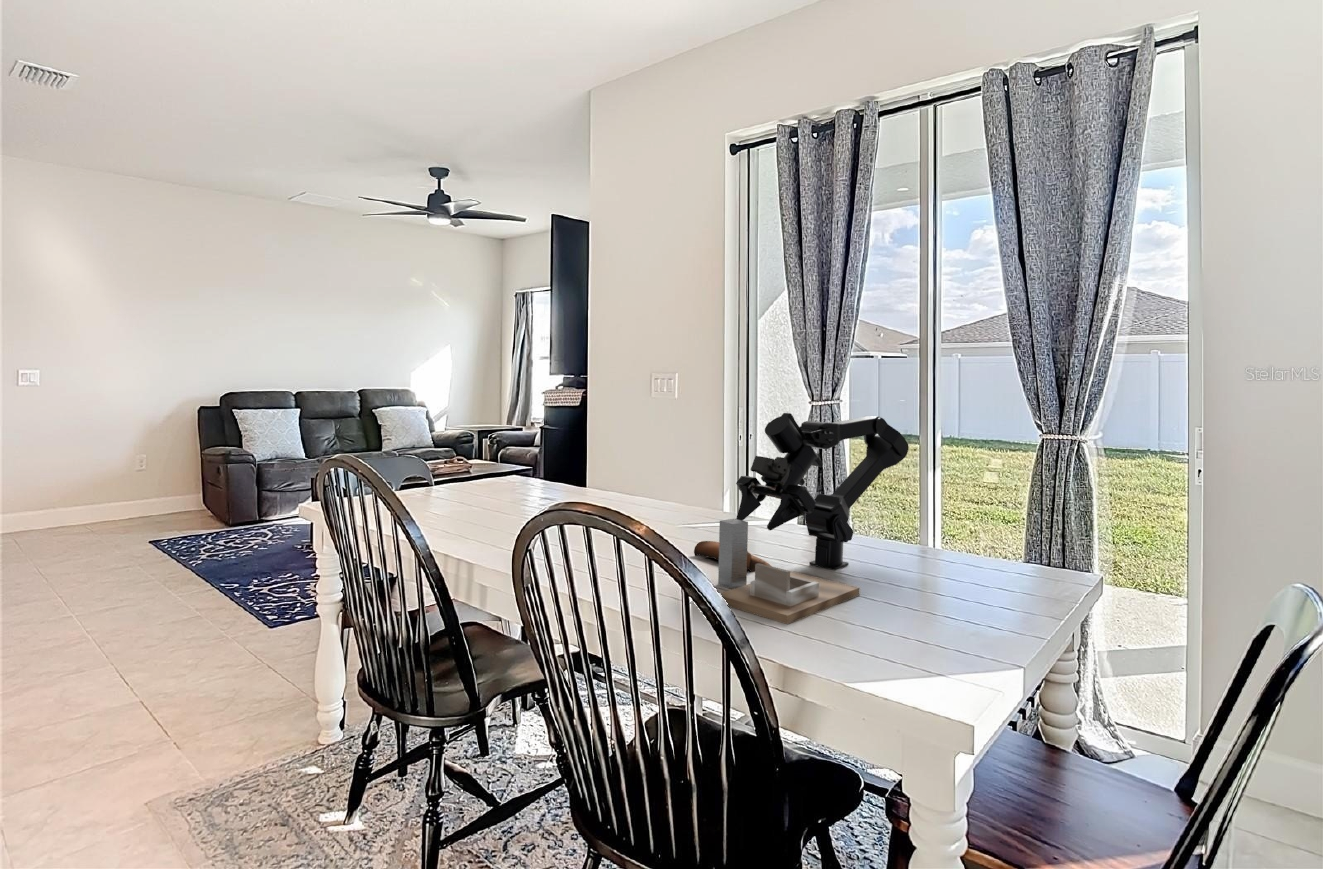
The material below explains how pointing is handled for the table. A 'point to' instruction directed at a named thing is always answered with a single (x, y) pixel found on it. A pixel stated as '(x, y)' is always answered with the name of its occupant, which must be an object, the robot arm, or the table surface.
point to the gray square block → (733, 553)
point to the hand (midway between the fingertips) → (752, 524)
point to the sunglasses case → (712, 551)
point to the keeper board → (787, 594)
